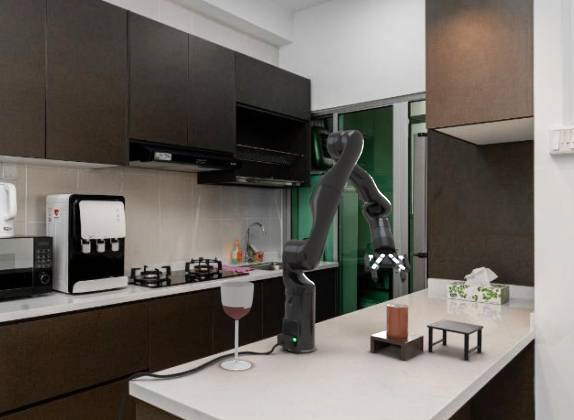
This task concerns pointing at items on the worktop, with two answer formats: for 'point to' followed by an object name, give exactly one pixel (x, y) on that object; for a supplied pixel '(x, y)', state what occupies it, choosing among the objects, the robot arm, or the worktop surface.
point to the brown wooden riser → (398, 344)
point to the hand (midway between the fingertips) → (389, 280)
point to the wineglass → (236, 313)
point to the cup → (397, 321)
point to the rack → (456, 328)
